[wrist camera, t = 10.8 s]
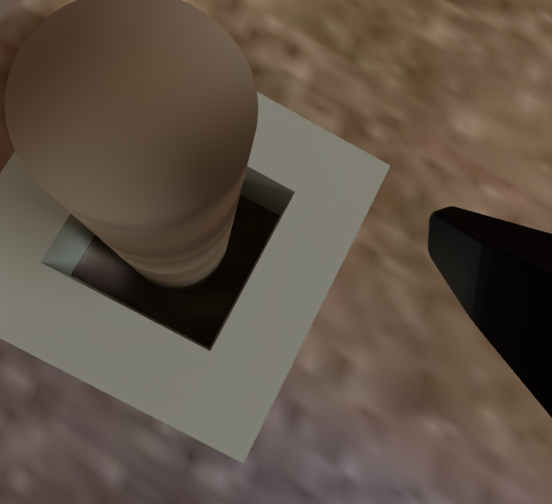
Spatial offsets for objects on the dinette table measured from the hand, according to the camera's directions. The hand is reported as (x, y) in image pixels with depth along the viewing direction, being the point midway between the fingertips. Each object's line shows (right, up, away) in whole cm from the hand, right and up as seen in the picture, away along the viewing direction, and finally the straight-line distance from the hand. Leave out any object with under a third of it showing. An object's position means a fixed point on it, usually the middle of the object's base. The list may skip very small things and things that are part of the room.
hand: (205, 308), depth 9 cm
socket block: (-3, +1, +13) cm, 13 cm away
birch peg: (-3, +1, +13) cm, 13 cm away
